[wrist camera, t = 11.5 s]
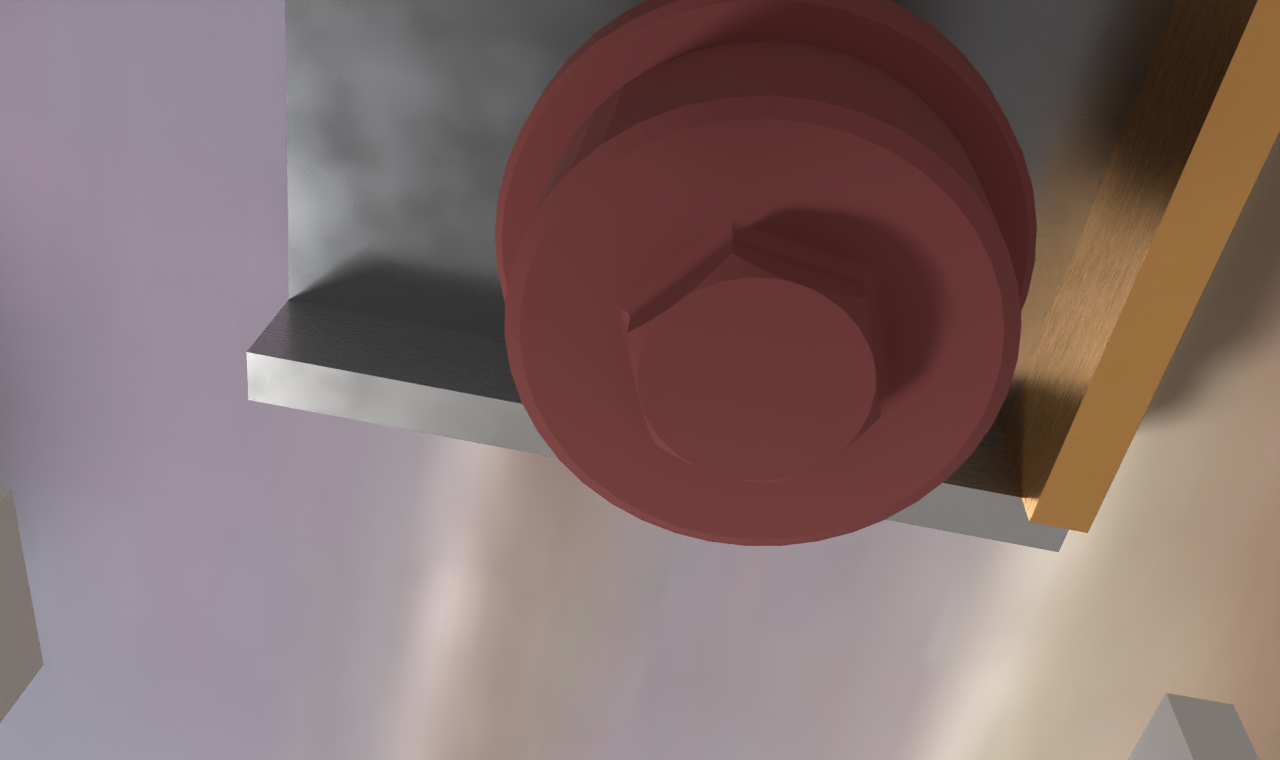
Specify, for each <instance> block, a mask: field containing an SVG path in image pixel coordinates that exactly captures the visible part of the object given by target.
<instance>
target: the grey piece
mask: <svg viewBox="0 0 1280 760" xmlns="http://www.w3.org/2000/svg"><path fill="white" fill-rule="evenodd" d="M645 1H647V0H285V24H286V103H287V182H288V261H289V300H288V301H287V302H286V304H285V305H284V306H283V307H282V309H281V310H280V311H279V312H278V314H277V315H276V316H275V317H274V319H273V320H272V321H271V322H270V324H269V325H268V326H267V327H266V329H265V330H264V331H263V332H262V334H261V335H260V336H259V337H258V339H257V340H256V341H255V342H254V344H253V345H252V346H251V347H250V349H249V350H248V351H247V373H248V400H253V401H258V402H263V403H269V404H274V405H279V406H285V407H290V408H295V409H301V410H306V411H311V412H317V413H322V414H327V415H333V416H338V417H343V418H348V419H354V420H359V421H364V422H370V423H375V424H380V425H386V426H391V427H396V428H402V429H407V430H412V431H418V432H423V433H428V434H434V435H439V436H444V437H450V438H455V439H460V440H465V441H471V442H476V443H481V444H487V445H492V446H497V447H503V448H508V449H513V450H519V451H524V452H529V453H535V454H540V455H545V456H551V457H556V458H557V456H556V455H555V454H554V452H553V451H552V450H551V448H550V447H549V446H548V445H547V443H546V442H545V441H544V439H543V438H542V437H541V435H540V434H539V433H538V431H537V430H536V428H535V426H534V424H533V422H532V420H531V418H530V417H529V415H528V413H527V411H526V409H525V407H524V406H523V404H522V402H521V399H520V396H519V393H518V391H517V388H516V385H515V382H514V379H513V376H512V373H511V370H510V365H509V359H508V353H507V347H506V341H505V301H504V297H503V293H502V288H501V283H500V279H499V274H498V269H497V261H496V244H495V224H496V213H497V203H498V195H499V191H500V187H501V183H502V180H503V176H504V172H505V168H506V164H507V161H508V159H509V156H510V154H511V152H512V149H513V147H514V145H515V142H516V140H517V138H518V135H519V133H520V131H521V128H522V127H523V125H524V123H525V122H526V120H527V118H528V116H529V115H530V113H531V111H532V110H533V108H534V106H535V104H536V103H537V101H538V99H539V98H540V96H541V94H542V92H543V91H544V89H545V88H546V86H547V85H548V84H549V83H550V81H551V80H552V79H553V77H554V76H555V75H556V73H557V72H558V71H559V69H560V68H561V67H562V65H563V64H564V63H565V62H566V60H567V59H568V58H569V57H570V56H571V55H572V54H573V53H574V52H576V51H577V50H578V49H579V48H580V47H581V46H582V45H583V44H584V43H585V42H586V41H587V40H588V39H589V38H590V37H591V36H592V35H593V34H594V33H596V32H597V31H598V30H600V29H601V28H603V27H604V26H605V25H607V24H608V23H610V22H611V21H613V20H614V19H615V18H617V17H618V16H620V15H621V14H622V13H624V12H625V11H627V10H629V9H631V8H633V7H635V6H637V5H639V4H641V3H643V2H645ZM891 1H893V2H896V3H898V4H900V5H902V6H903V7H905V8H906V9H908V10H909V11H911V12H912V13H914V14H915V15H917V16H919V17H920V18H922V19H923V20H925V21H926V22H928V23H929V24H931V25H932V26H934V27H935V28H936V29H937V30H938V31H939V32H940V33H942V34H943V35H944V36H945V37H946V38H947V39H948V40H949V41H950V42H951V43H952V44H954V45H955V46H956V47H957V48H958V49H959V50H960V51H961V52H962V53H963V54H964V55H965V56H966V58H967V59H968V60H969V61H970V63H971V64H972V65H973V66H974V68H975V69H976V70H977V71H978V73H979V74H980V75H981V76H982V78H983V79H984V80H985V81H986V83H987V84H988V86H989V88H990V90H991V91H992V93H993V95H994V96H995V98H996V100H997V102H998V103H999V105H1000V107H1001V109H1002V110H1003V112H1004V114H1005V116H1006V117H1007V120H1008V122H1009V124H1010V126H1011V128H1012V130H1013V132H1014V134H1015V137H1016V139H1017V141H1018V143H1019V145H1020V147H1021V149H1022V151H1023V155H1024V158H1025V162H1026V165H1027V169H1028V172H1029V176H1030V180H1031V183H1032V187H1033V193H1034V202H1035V212H1036V221H1037V233H1036V252H1035V263H1034V268H1033V273H1032V277H1031V282H1030V286H1029V291H1028V296H1027V298H1026V301H1025V304H1024V306H1023V309H1022V311H1021V321H1022V324H1021V334H1020V344H1019V354H1018V361H1017V364H1016V367H1015V371H1014V374H1013V378H1012V381H1011V385H1010V388H1009V392H1008V394H1007V396H1006V398H1005V400H1004V402H1003V404H1002V407H1001V409H1000V411H999V413H998V415H997V417H996V419H995V421H994V423H993V425H992V426H991V428H990V429H989V431H988V432H987V433H986V435H985V436H984V438H983V439H982V440H981V442H980V443H979V445H978V446H977V447H976V449H975V450H974V452H973V453H972V454H971V455H970V456H969V457H968V458H967V459H966V460H965V462H964V463H963V464H962V465H961V466H960V467H959V468H958V469H957V470H956V471H955V472H954V473H953V474H952V475H951V476H950V477H949V478H948V479H947V480H946V481H944V482H943V483H942V484H940V485H939V486H938V487H936V488H935V489H934V490H932V491H931V492H930V493H928V494H927V495H926V496H924V497H923V498H922V499H920V500H919V501H918V502H916V503H914V504H912V505H911V506H909V507H907V508H905V509H903V510H902V511H900V512H898V513H896V514H894V515H893V516H891V517H889V518H887V519H886V520H891V521H896V522H901V523H907V524H912V525H917V526H923V527H928V528H933V529H939V530H944V531H949V532H955V533H960V534H965V535H971V536H976V537H981V538H987V539H992V540H997V541H1003V542H1008V543H1013V544H1018V545H1024V546H1029V547H1034V548H1040V549H1045V550H1050V551H1056V552H1059V550H1060V548H1061V546H1062V543H1063V541H1064V539H1065V537H1066V535H1067V533H1068V530H1069V529H1070V530H1075V531H1081V532H1086V533H1088V531H1089V529H1090V527H1091V525H1092V523H1093V521H1094V519H1095V517H1096V515H1097V513H1098V511H1099V508H1100V506H1101V504H1102V502H1103V500H1104V498H1105V496H1106V494H1107V492H1108V490H1109V487H1110V485H1111V483H1112V481H1113V479H1114V477H1115V475H1116V473H1117V471H1118V469H1119V467H1120V464H1121V462H1122V460H1123V458H1124V456H1125V454H1126V452H1127V450H1128V448H1129V446H1130V444H1131V441H1132V439H1133V437H1134V435H1135V433H1136V431H1137V429H1138V427H1139V425H1140V423H1141V420H1142V418H1143V416H1144V414H1145V412H1146V410H1147V408H1148V406H1149V404H1150V402H1151V400H1152V397H1153V395H1154V393H1155V391H1156V389H1157V387H1158V385H1159V383H1160V381H1161V379H1162V376H1163V374H1164V372H1165V370H1166V368H1167V366H1168V364H1169V362H1170V360H1171V358H1172V356H1173V353H1174V351H1175V349H1176V347H1177V345H1178V343H1179V341H1180V339H1181V337H1182V335H1183V333H1184V330H1185V328H1186V326H1187V324H1188V322H1189V320H1190V318H1191V316H1192V314H1193V312H1194V309H1195V307H1196V305H1197V303H1198V301H1199V299H1200V297H1201V295H1202V293H1203V291H1204V289H1205V286H1206V284H1207V282H1208V280H1209V278H1210V276H1211V274H1212V272H1213V270H1214V268H1215V265H1216V263H1217V261H1218V259H1219V257H1220V255H1221V253H1222V251H1223V249H1224V247H1225V245H1226V242H1227V240H1228V238H1229V236H1230V234H1231V232H1232V230H1233V228H1234V226H1235V224H1236V222H1237V219H1238V217H1239V215H1240V213H1241V211H1242V209H1243V207H1244V205H1245V203H1246V201H1247V198H1248V196H1249V194H1250V192H1251V190H1252V188H1253V186H1254V184H1255V182H1256V180H1257V178H1258V175H1259V173H1260V171H1261V169H1262V167H1263V165H1264V163H1265V161H1266V159H1267V157H1268V154H1269V152H1270V150H1271V148H1272V146H1273V144H1274V142H1275V140H1276V138H1277V136H1278V134H1279V131H1280V0H891Z"/></svg>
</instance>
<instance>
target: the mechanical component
mask: <svg viewBox="0 0 1280 760" xmlns="http://www.w3.org/2000/svg"><path fill="white" fill-rule="evenodd" d="M1036 233H1037V221H1036V212H1035V202H1034V193H1033V187H1032V183H1031V180H1030V176H1029V172H1028V169H1027V165H1026V162H1025V158H1024V155H1023V151H1022V149H1021V147H1020V145H1019V143H1018V141H1017V139H1016V137H1015V134H1014V132H1013V130H1012V128H1011V126H1010V124H1009V122H1008V120H1007V117H1006V116H1005V114H1004V112H1003V110H1002V109H1001V107H1000V105H999V103H998V102H997V100H996V98H995V96H994V95H993V93H992V91H991V90H990V88H989V86H988V84H987V83H986V81H985V80H984V79H983V78H982V76H981V75H980V74H979V73H978V71H977V70H976V69H975V68H974V66H973V65H972V64H971V63H970V61H969V60H968V59H967V58H966V56H965V55H964V54H963V53H962V52H961V51H960V50H959V49H958V48H957V47H956V46H955V45H954V44H952V43H951V42H950V41H949V40H948V39H947V38H946V37H945V36H944V35H943V34H942V33H940V32H939V31H938V30H937V29H936V28H935V27H934V26H932V25H931V24H929V23H928V22H926V21H925V20H923V19H922V18H920V17H919V16H917V15H915V14H914V13H912V12H911V11H909V10H908V9H906V8H905V7H903V6H902V5H900V4H898V3H896V2H893V1H891V0H647V1H645V2H643V3H641V4H639V5H637V6H635V7H633V8H631V9H629V10H627V11H625V12H624V13H622V14H621V15H620V16H618V17H617V18H615V19H614V20H613V21H611V22H610V23H608V24H607V25H605V26H604V27H603V28H601V29H600V30H598V31H597V32H596V33H594V34H593V35H592V36H591V37H590V38H589V39H588V40H587V41H586V42H585V43H584V44H583V45H582V46H581V47H580V48H579V49H578V50H577V51H576V52H574V53H573V54H572V55H571V56H570V57H569V58H568V59H567V60H566V62H565V63H564V64H563V65H562V67H561V68H560V69H559V71H558V72H557V73H556V75H555V76H554V77H553V79H552V80H551V81H550V83H549V84H548V85H547V86H546V88H545V89H544V91H543V92H542V94H541V96H540V98H539V99H538V101H537V103H536V104H535V106H534V108H533V110H532V111H531V113H530V115H529V116H528V118H527V120H526V122H525V123H524V125H523V127H522V128H521V131H520V133H519V135H518V138H517V140H516V142H515V145H514V147H513V149H512V152H511V154H510V156H509V159H508V161H507V164H506V168H505V172H504V176H503V180H502V183H501V187H500V191H499V195H498V203H497V213H496V224H495V244H496V261H497V269H498V274H499V279H500V283H501V288H502V293H503V297H504V301H505V341H506V347H507V353H508V359H509V365H510V370H511V373H512V376H513V379H514V382H515V385H516V388H517V391H518V393H519V396H520V399H521V402H522V404H523V406H524V407H525V409H526V411H527V413H528V415H529V417H530V418H531V420H532V422H533V424H534V426H535V428H536V430H537V431H538V433H539V434H540V435H541V437H542V438H543V439H544V441H545V442H546V443H547V445H548V446H549V447H550V448H551V450H552V451H553V452H554V454H555V455H556V456H557V458H558V459H559V460H560V461H561V462H562V463H563V464H564V465H565V466H566V467H567V468H568V469H569V470H570V471H571V472H572V473H574V474H575V475H576V476H577V477H578V478H579V479H580V480H581V481H582V482H583V483H584V484H585V485H587V486H588V487H590V488H591V489H592V490H594V491H595V492H596V493H598V494H599V495H600V496H602V497H603V498H605V499H606V500H607V501H609V502H610V503H612V504H613V505H615V506H617V507H619V508H621V509H623V510H624V511H626V512H628V513H630V514H632V515H634V516H636V517H637V518H639V519H641V520H643V521H646V522H648V523H651V524H654V525H656V526H659V527H661V528H664V529H667V530H669V531H672V532H674V533H678V534H682V535H686V536H690V537H694V538H698V539H702V540H706V541H711V542H719V543H727V544H735V545H744V546H783V545H791V544H799V543H807V542H815V541H820V540H824V539H828V538H832V537H836V536H840V535H844V534H848V533H852V532H855V531H857V530H860V529H862V528H865V527H867V526H870V525H872V524H875V523H878V522H880V521H883V520H885V519H887V518H889V517H891V516H893V515H894V514H896V513H898V512H900V511H902V510H903V509H905V508H907V507H909V506H911V505H912V504H914V503H916V502H918V501H919V500H920V499H922V498H923V497H924V496H926V495H927V494H928V493H930V492H931V491H932V490H934V489H935V488H936V487H938V486H939V485H940V484H942V483H943V482H944V481H946V480H947V479H948V478H949V477H950V476H951V475H952V474H953V473H954V472H955V471H956V470H957V469H958V468H959V467H960V466H961V465H962V464H963V463H964V462H965V460H966V459H967V458H968V457H969V456H970V455H971V454H972V453H973V452H974V450H975V449H976V447H977V446H978V445H979V443H980V442H981V440H982V439H983V438H984V436H985V435H986V433H987V432H988V431H989V429H990V428H991V426H992V425H993V423H994V421H995V419H996V417H997V415H998V413H999V411H1000V409H1001V407H1002V404H1003V402H1004V400H1005V398H1006V396H1007V394H1008V392H1009V388H1010V385H1011V381H1012V378H1013V374H1014V371H1015V367H1016V364H1017V361H1018V354H1019V344H1020V334H1021V324H1022V321H1021V311H1022V309H1023V306H1024V304H1025V301H1026V298H1027V296H1028V291H1029V286H1030V282H1031V277H1032V273H1033V268H1034V263H1035V252H1036Z"/></svg>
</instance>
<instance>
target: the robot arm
mask: <svg viewBox="0 0 1280 760" xmlns="http://www.w3.org/2000/svg"><path fill="white" fill-rule="evenodd" d="M42 666H43V659H42V654H41V648H40V643H39V637H38V632H37V627H36V621H35V616H34V610H33V605H32V599H31V594H30V588H29V583H28V577H27V572H26V567H25V561H24V556H23V550H22V545H21V539H20V534H19V528H18V523H17V517H16V512H15V507H14V501H13V496H12V490H6V489H1V488H0V723H1V721H2V720H3V719H4V717H5V716H6V714H7V713H8V712H9V710H10V709H11V708H12V706H13V705H14V704H15V702H16V701H17V700H18V698H19V697H20V695H21V694H22V693H23V691H24V690H25V689H26V687H27V686H28V685H29V683H30V682H31V680H32V679H33V678H34V676H35V675H36V674H37V672H38V671H39V670H40V668H41V667H42ZM1128 760H1259V758H1258V756H1257V754H1256V752H1255V750H1254V748H1253V746H1252V743H1251V741H1250V739H1249V737H1248V735H1247V733H1246V731H1245V729H1244V727H1243V724H1242V722H1241V720H1240V718H1239V716H1238V714H1237V712H1236V710H1235V707H1234V705H1232V704H1226V703H1220V702H1215V701H1209V700H1203V699H1198V698H1192V697H1186V696H1180V695H1175V694H1169V693H1166V694H1165V696H1164V698H1163V699H1162V701H1161V703H1160V705H1159V706H1158V708H1157V710H1156V712H1155V713H1154V715H1153V717H1152V719H1151V720H1150V722H1149V724H1148V726H1147V727H1146V729H1145V731H1144V733H1143V734H1142V736H1141V738H1140V740H1139V741H1138V743H1137V745H1136V747H1135V748H1134V750H1133V752H1132V754H1131V755H1130V757H1129V759H1128Z"/></svg>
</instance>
